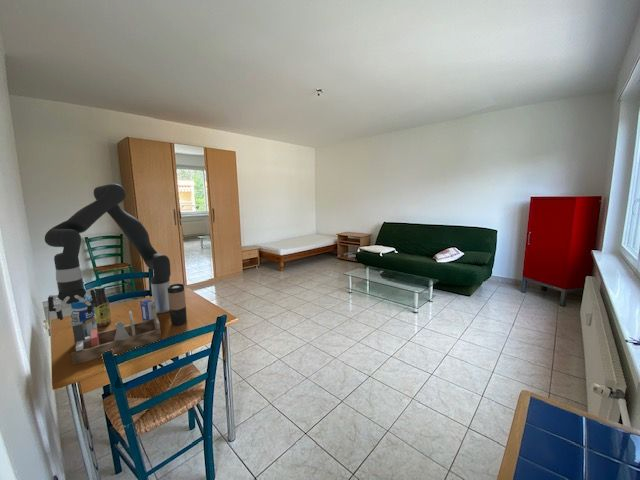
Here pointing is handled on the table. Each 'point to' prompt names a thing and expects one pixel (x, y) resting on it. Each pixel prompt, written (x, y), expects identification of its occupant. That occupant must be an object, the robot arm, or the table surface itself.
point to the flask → (120, 331)
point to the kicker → (81, 338)
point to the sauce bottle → (102, 307)
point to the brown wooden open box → (122, 343)
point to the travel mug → (177, 304)
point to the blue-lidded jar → (83, 316)
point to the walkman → (147, 309)
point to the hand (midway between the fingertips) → (75, 316)
